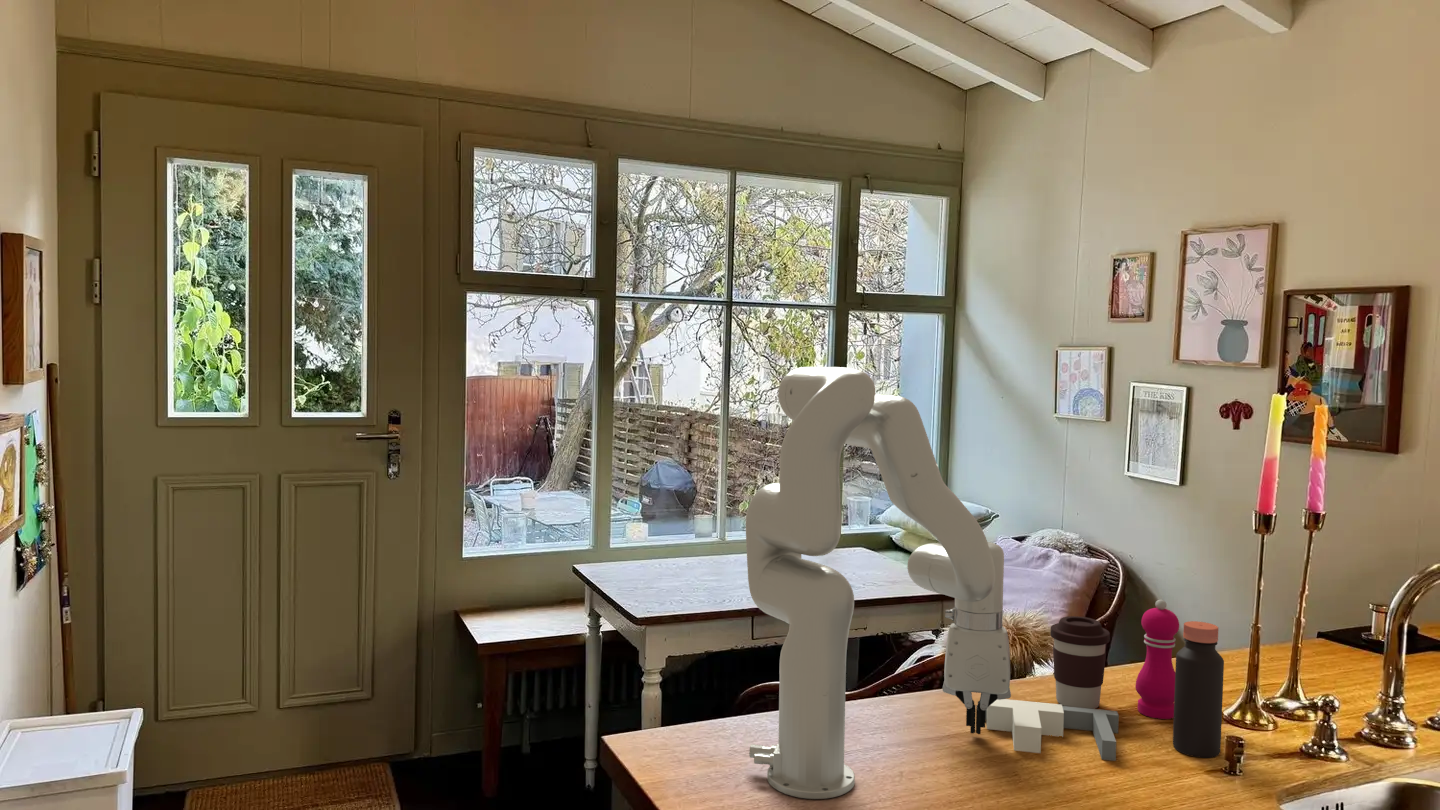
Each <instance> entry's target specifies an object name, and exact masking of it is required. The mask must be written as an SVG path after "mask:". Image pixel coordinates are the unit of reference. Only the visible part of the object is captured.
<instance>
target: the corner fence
mask: <svg viewBox="0 0 1440 810" xmlns="http://www.w3.org/2000/svg"><path fill="white" fill-rule="evenodd" d="M1062 708H1063V712H1064V724H1063V729H1071V730H1082V731H1091V732H1092V734H1093V737H1094V740H1095V743H1096V746H1097V749H1098V752H1099V756H1100V758H1101V760H1103V761H1104V760H1105V761H1114V762H1115V761H1117V739H1116V738H1115V735H1114V734H1119V722H1120V721H1119V719H1120V718H1119V717H1120V716H1119V713H1118V711H1117V710H1106V709H1097V708H1095V709H1088V708H1078V707H1067V706H1063V705H1062ZM985 721H987V710H986V714H985Z"/></svg>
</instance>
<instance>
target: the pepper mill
mask: <svg viewBox="0 0 1440 810" xmlns="http://www.w3.org/2000/svg"><path fill="white" fill-rule="evenodd" d="M1154 605H1155V607H1153V608H1149V609H1147V610H1146V611H1144V613H1143V615H1142V617H1141V620H1140V621H1141V623H1140V624H1141V626H1142V629H1143V630H1144V631H1145V634H1144V635H1143V637H1144V640H1143V643H1144V644H1145V645H1146V646H1145V647H1146V655H1145V659H1144V663H1143V665H1142V667H1141V669H1140V670H1139V672H1138V674H1137V678H1136V679H1135V680H1136V681H1135V691H1136V693H1137V694H1138V695H1139V696H1140V698H1139V699H1137V711H1138V712H1139V714H1141V715H1143V716H1146V717H1149V718H1153V719H1157V718H1158V719H1157V720H1171V718H1172V719H1174V696H1175V668H1174V666H1173V659H1172V658H1173V657H1172V655H1173V648H1175V647H1176V638H1175V635H1177V634H1178V632H1179V630H1180V621H1179V618H1178V616H1177V615H1176V614H1175V612H1173V611H1171V610H1169V609H1167V603H1166V601H1165V600H1163V599H1158V600H1156V601H1155V604H1154Z"/></svg>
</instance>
